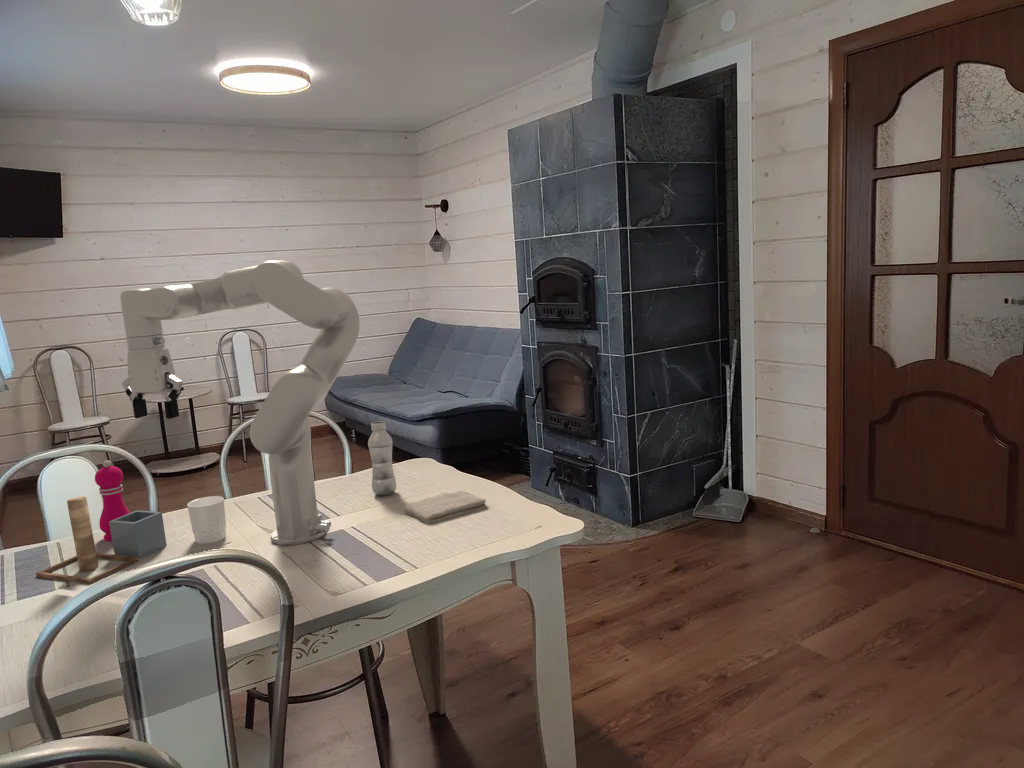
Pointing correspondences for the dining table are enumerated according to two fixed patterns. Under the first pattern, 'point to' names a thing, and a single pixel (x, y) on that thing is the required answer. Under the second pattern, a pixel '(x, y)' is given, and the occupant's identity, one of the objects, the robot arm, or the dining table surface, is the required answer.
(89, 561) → the dowel
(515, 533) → the dining table surface
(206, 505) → the white cup
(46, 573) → the tray
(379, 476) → the plastic bottle
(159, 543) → the grey hollow box
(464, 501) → the washcloth
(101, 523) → the pepper mill
